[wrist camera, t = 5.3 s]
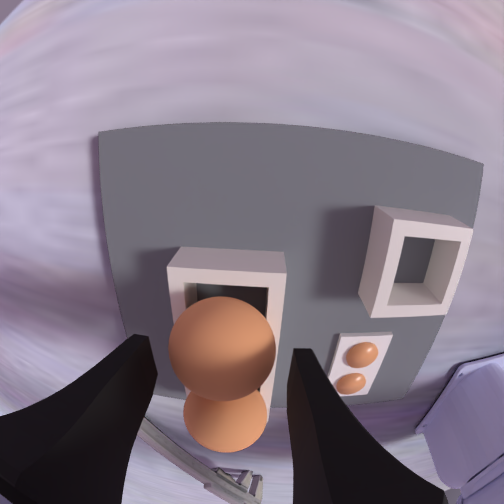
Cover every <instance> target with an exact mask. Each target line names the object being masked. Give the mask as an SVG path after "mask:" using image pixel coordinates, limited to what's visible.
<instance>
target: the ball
mask: <svg viewBox="0 0 504 504" xmlns="http://www.w3.org/2000/svg"><path fill="white" fill-rule="evenodd" d="M168 351H169V359H170V362H171V366H172V368H173V370H174V372H175V374H176V376H177V377H178V379H179V380H180V381H181V382H182V384H183V385H184V386H185V387H186V388H188V389H189V390H190V391H192V392H193V393H195V394H196V395H198V396H200V397H203V398H206V399H209V400H214V401H232V400H237V399H240V398H243V397H246V396H248V395H249V394H251V393H253V392H254V391H256V390H257V389H258V388H259V387H260V386H261V385H262V384H263V383H264V382H265V381H266V379H267V378H268V376H269V375H270V373H271V371H272V368H273V365H274V362H275V357H276V344H275V337H274V334H273V331H272V329H271V327H270V325H269V323H268V322H267V320H266V319H265V317H264V316H263V315H262V314H261V313H260V312H259V311H258V310H257V309H256V308H254V307H253V306H252V305H250V304H248V303H246V302H244V301H242V300H239V299H236V298H232V297H221V296H218V297H211V298H207V299H204V300H201V301H198V302H196V303H194V304H193V305H191V306H190V307H188V308H187V309H186V310H185V311H184V312H183V313H182V314H181V315H180V316H179V317H178V319H177V320H176V322H175V324H174V326H173V328H172V330H171V333H170V337H169V345H168Z"/></svg>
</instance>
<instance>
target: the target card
mask: <svg viewBox="0 0 504 504" xmlns="http://www.w3.org/2000/svg"><path fill="white" fill-rule="evenodd" d="M392 337H393V334H392V332H370V333H340V335H339V339H338V343H337V346H336V350H335V353H334V357H333V360H332V363H331V367H330V370H329V373H328V376H327V377H328V379H329V380H330V382H331V383H332V385H333V386H334V388H335V390H336V391H337V393H338V394H339V396H354V395H365V394H368V392H369V390H370V387H371V385H372V383H373V381H374V379H375V377H376V375H377V372H378V370H379V368H380V366H381V363H382V361H383V359H384V356H385V354H386V352H387V349H388V347H389V344H390V342H391V339H392Z"/></svg>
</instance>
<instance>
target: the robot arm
mask: <svg viewBox="0 0 504 504" xmlns="http://www.w3.org/2000/svg"><path fill="white" fill-rule="evenodd" d="M157 376H158V372H157V368H156V364H155V361H154V357H153V353H152V348H151V344H150V340H149V336H145V335H139V334H133V335H132V336H130V337H129V338H128V339H127V340H125V341H124V342H123V343H122V344H121V345H119V346H118V347H117V348H116V349H115V350H113V351H112V352H111V353H110V354H109V355H107V356H106V357H105V358H104V359H103V360H101V361H100V362H99V363H98V364H96V365H95V366H94V367H93V368H91V369H90V370H89V371H87V372H86V373H84V374H83V375H82V376H80V377H79V378H78V379H76V380H75V381H74V382H72V383H71V384H69V385H68V386H66V387H65V388H63V389H61V390H60V391H58V392H56V393H54V394H53V395H51V396H49V397H47V398H45V399H43V400H41V401H39V402H37V403H35V404H33V405H31V406H28V407H26V408H24V409H21V410H18V411H16V412H13V413H10V414H7V415H3V416H0V504H121V502H122V494H123V487H124V482H125V476H126V471H127V467H128V462H129V458H130V454H131V450H132V447H133V444H134V441H135V439H136V436H137V433H138V431H139V428H140V426H141V423H142V421H143V418H144V416H145V413H146V411H147V408H148V406H149V403H150V401H151V398H152V395H153V392H154V388H155V384H156V380H157ZM287 416H288V425H289V433H290V441H291V449H292V458H293V504H448V500H447V497H446V495H445V493H444V490H442V489H440V488H438V487H436V486H435V485H433V484H431V483H429V482H428V481H426V480H425V479H423V478H421V477H420V476H418V475H417V474H415V473H414V472H413V471H411V470H410V469H409V468H407V467H406V466H404V465H403V464H402V463H401V462H400V461H398V460H397V459H396V458H395V457H394V456H393V455H391V454H390V453H389V452H388V451H387V450H386V449H384V448H383V447H382V446H381V445H380V444H379V443H378V442H377V441H376V440H375V439H374V438H373V437H372V436H371V435H370V434H369V432H368V431H367V430H366V429H365V428H364V427H363V426H362V425H361V423H360V422H359V421H358V420H357V419H356V417H355V416H354V415H353V413H352V412H351V411H350V410H349V408H348V407H347V406H346V404H345V403H344V401H343V400H342V399H341V397H340V396H339V394H338V393H337V391H336V390H335V388H334V386H333V385H332V383H331V382H330V380H329V379H328V377H327V375H326V373H325V372H324V370H323V368H322V366H321V365H320V363H319V361H318V359H317V357H316V355H315V353H314V351H313V350H312V349H311V348H293V354H292V360H291V365H290V371H289V376H288V381H287ZM415 432H416V433H417V434H418V433H422V432H423V433H424V436H425V439H426V442H427V444H428V447H429V450H430V453H431V456H432V459H433V462H434V465H435V468H436V471H437V474H438V476H439V478H440V480H441V481H442V482H443V483H444V484H445V485H447V486H448V487H450V488H454V489H458V488H459V489H460V491H461V495H460V496H459V498H458V499H457V502H456V504H504V354H500V355H497V356H493V357H489V358H485V359H481V360H477V361H473V362H469V363H464V364H462V365H460V366H459V367H458V369H457V370H456V372H455V374H454V375H453V377H452V378H451V380H450V382H449V383H448V385H447V386H446V388H445V389H444V391H443V392H442V394H441V395H440V397H439V398H438V400H437V401H436V403H435V404H434V405H433V407H432V408H431V410H430V411H429V412H428V414H427V415H426V416H425V418H424V419H423V420H422V422H421V423H420V424H419V425H418V427H417V428H416V429H415Z"/></svg>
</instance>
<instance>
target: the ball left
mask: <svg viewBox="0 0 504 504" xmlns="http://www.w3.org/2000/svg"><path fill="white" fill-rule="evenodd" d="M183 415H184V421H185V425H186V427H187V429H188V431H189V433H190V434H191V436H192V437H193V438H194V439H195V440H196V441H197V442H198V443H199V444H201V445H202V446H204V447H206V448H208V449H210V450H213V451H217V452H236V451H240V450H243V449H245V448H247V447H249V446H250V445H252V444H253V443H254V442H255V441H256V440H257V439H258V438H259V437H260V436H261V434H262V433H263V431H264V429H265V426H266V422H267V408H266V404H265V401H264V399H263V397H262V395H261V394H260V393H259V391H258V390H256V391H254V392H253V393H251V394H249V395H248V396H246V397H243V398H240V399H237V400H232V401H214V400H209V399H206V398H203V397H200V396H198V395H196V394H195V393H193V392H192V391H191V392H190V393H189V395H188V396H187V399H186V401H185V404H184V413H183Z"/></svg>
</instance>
